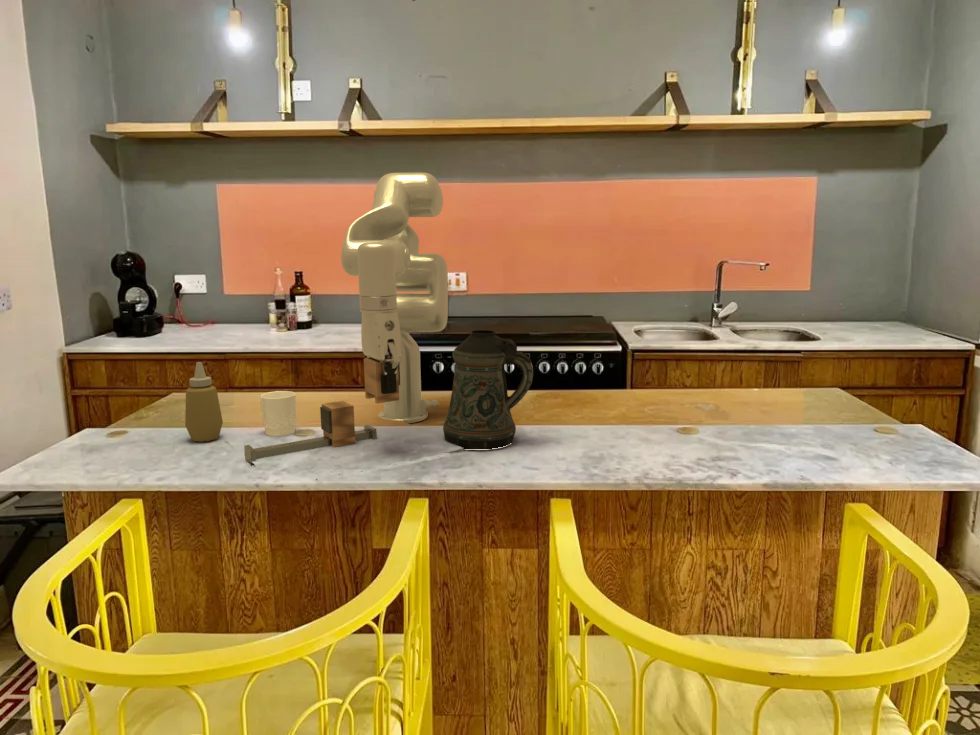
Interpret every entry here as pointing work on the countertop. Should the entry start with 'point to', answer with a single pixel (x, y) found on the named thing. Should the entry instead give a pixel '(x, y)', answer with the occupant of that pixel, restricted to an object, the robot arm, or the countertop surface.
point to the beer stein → (484, 392)
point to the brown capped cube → (378, 381)
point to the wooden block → (338, 422)
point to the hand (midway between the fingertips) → (381, 389)
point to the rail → (301, 445)
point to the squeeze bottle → (202, 408)
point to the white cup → (279, 412)
